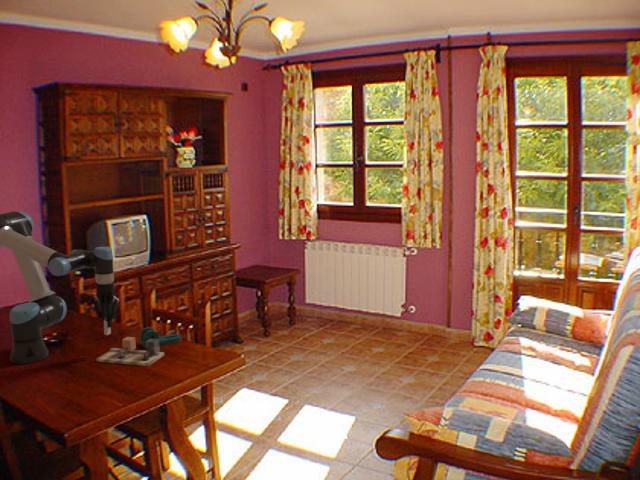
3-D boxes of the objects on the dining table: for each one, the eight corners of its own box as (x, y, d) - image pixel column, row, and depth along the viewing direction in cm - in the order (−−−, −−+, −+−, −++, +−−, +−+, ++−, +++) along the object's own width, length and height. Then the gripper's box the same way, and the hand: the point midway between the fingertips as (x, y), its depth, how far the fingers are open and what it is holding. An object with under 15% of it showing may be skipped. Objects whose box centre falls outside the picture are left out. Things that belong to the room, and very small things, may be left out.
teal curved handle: (144, 349, 271) (143, 332, 270) (140, 344, 277) (139, 328, 276) (183, 341, 280) (182, 325, 279) (178, 337, 286) (177, 321, 285)
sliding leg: (116, 356, 258) (115, 343, 256) (128, 349, 266) (127, 336, 265) (124, 357, 256) (123, 344, 255) (136, 349, 265) (135, 337, 264)
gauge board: (96, 361, 257) (95, 344, 256) (114, 350, 269) (112, 334, 268) (148, 366, 251) (147, 349, 249) (164, 355, 263) (163, 338, 262)
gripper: (86, 283, 259) (89, 335, 263) (113, 285, 256) (115, 338, 260) (97, 279, 266) (99, 329, 270) (123, 281, 263) (125, 332, 267)
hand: (107, 333), depth 265 cm, fingers closed
